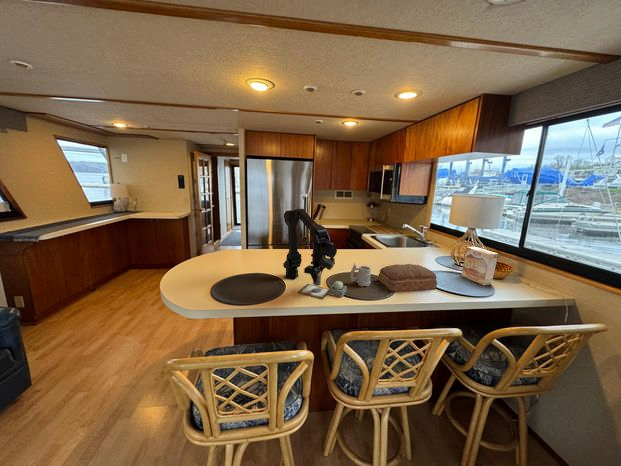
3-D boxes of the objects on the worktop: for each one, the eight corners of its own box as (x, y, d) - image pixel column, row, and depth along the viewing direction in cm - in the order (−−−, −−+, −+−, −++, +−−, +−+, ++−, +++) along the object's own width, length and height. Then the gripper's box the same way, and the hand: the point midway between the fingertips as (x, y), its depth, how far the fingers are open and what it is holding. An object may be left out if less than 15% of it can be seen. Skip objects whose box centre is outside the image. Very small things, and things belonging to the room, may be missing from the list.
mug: (371, 287, 134) (373, 267, 131) (349, 286, 134) (351, 265, 132) (368, 281, 141) (370, 262, 139) (348, 280, 142) (350, 261, 139)
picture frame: (297, 292, 124) (297, 291, 124) (307, 284, 134) (307, 283, 134) (322, 299, 118) (322, 297, 118) (331, 290, 128) (331, 289, 128)
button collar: (329, 293, 124) (329, 288, 124) (333, 288, 130) (334, 283, 130) (342, 297, 121) (342, 291, 121) (346, 291, 127) (346, 286, 127)
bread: (376, 279, 145) (378, 261, 143) (419, 277, 151) (422, 260, 149) (390, 292, 129) (393, 272, 126) (438, 289, 135) (442, 270, 132)
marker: (311, 284, 124) (312, 271, 122) (315, 281, 127) (315, 269, 126) (318, 286, 122) (319, 273, 121) (321, 283, 126) (322, 270, 124)
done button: (332, 290, 125) (333, 283, 124) (335, 287, 128) (336, 280, 128) (340, 292, 123) (341, 285, 122) (343, 289, 127) (343, 282, 126)
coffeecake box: (460, 275, 156) (466, 246, 152) (469, 274, 158) (474, 246, 154) (483, 285, 142) (490, 253, 138) (492, 284, 145) (498, 253, 140)
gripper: (325, 260, 109) (324, 292, 113) (339, 250, 126) (337, 278, 129) (304, 256, 114) (303, 286, 118) (320, 246, 131) (318, 274, 134)
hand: (316, 281), depth 125 cm, fingers closed on marker, 4 cm apart
